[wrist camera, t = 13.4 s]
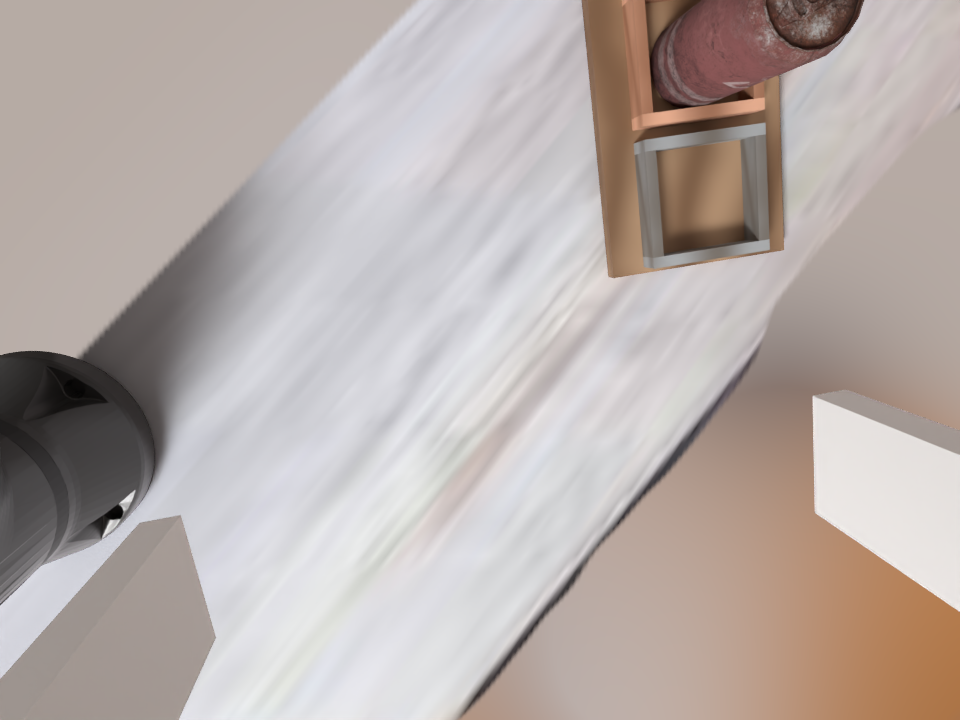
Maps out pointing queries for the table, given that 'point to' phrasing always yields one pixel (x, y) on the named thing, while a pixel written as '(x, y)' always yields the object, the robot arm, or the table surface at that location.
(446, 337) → the table surface
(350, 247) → the table surface
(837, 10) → the can
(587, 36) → the board
